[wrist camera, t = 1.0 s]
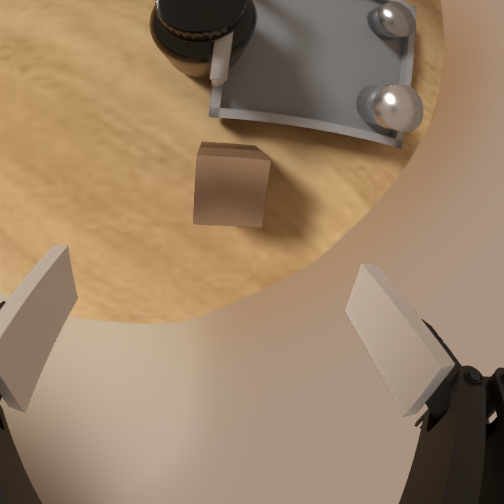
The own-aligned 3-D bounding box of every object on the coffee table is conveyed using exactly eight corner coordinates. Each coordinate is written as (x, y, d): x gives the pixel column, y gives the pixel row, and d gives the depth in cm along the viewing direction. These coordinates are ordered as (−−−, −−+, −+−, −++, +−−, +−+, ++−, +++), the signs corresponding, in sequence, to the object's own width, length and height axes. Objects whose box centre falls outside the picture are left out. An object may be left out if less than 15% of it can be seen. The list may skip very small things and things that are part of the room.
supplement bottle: (255, 63, 22) (287, 32, 12) (183, 90, 23) (160, 76, 12) (228, 2, 19) (240, -60, 8) (157, 29, 19) (119, -19, 9)
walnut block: (201, 141, 26) (196, 155, 19) (255, 145, 26) (271, 160, 19) (198, 192, 28) (193, 224, 21) (249, 195, 29) (261, 227, 22)
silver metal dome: (368, 3, 18) (384, -5, 15) (399, 16, 19) (416, 11, 16) (366, 32, 20) (382, 27, 17) (397, 45, 20) (415, 41, 18)
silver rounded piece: (359, 80, 22) (388, 78, 18) (394, 91, 23) (425, 93, 18) (353, 120, 24) (381, 125, 19) (388, 129, 24) (419, 137, 20)
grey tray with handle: (229, -31, 17) (238, -88, 8) (398, 12, 20) (462, -5, 11) (208, 115, 24) (205, 120, 15) (383, 142, 27) (448, 166, 18)
